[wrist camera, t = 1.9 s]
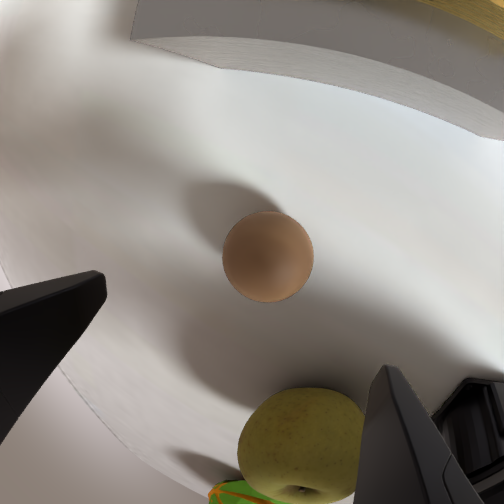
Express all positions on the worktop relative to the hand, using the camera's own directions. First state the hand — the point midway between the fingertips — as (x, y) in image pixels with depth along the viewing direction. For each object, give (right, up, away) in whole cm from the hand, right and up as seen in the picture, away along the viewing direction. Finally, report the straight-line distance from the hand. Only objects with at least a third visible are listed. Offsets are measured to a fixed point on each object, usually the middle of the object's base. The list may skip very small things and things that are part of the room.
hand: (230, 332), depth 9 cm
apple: (+5, -8, +10) cm, 14 cm away
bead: (+2, +3, +6) cm, 7 cm away
